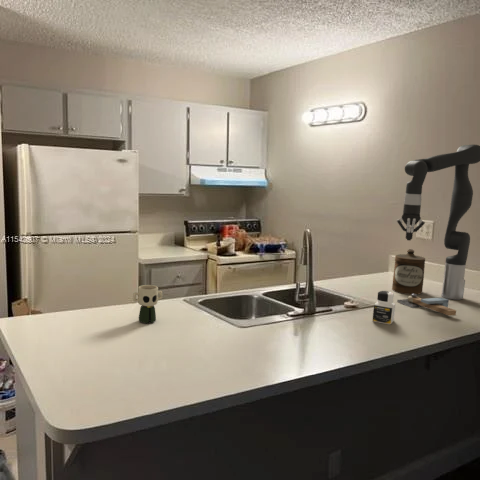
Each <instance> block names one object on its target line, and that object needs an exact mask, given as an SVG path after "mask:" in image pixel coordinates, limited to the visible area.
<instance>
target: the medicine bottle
mask: <svg viewBox="0 0 480 480" xmlns="http://www.w3.org/2000/svg"><path fill="white" fill-rule="evenodd" d="M395 309H396V303H395V302H394V293H393V292H391V291H388V290H380V291H378V292H377V300H376V302H375V303H374V304H373V313H372V322H374V323H380V324H385V325H391V324H392V323H393V322H394V320H395V311H396V310H395Z"/></svg>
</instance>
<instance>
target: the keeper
mask: <svg viewBox="0 0 480 480" xmlns="http://www.w3.org/2000/svg"><path fill="white" fill-rule="evenodd" d="M449 300H450V299H448V298H444V297H428V298H421V302H423V303H426V304H435V303H436V304H439V305H442V306H445V307H448V308H449Z"/></svg>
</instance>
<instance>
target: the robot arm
mask: <svg viewBox="0 0 480 480" xmlns="http://www.w3.org/2000/svg"><path fill="white" fill-rule="evenodd" d="M478 163H480V145H479V144H473V143H472V144H465V145H461V146H459V147H458V148H457V150H456V152H455V151H454V152H447V153H442V154H436V155H432V156H430V157H425V158H420V159H414V160H410V161H408V162H407V163H406V164H405V166H404V172H405V174H407V176H411V177H412V178H411V180H410V181H407V182H406V186H405V194H404V199H403V210H402V216H401V217H400V218H398V219H396V222H397V224H398V225H399V227H400V228H401V230H402V231H403V232H405V240H406V241H409V242H410V241H411V240H412V239H413V235H414V233H415V232H416V233H417V232H418V231H420V229H421V228H422V227H423V226H424V225H425V223H426V222H425V221H424V220H422V219H421V218H422V217H421V208H422V207H421V206H422V193H423V185H424V182H425V180H426V177H427V174H428V173H434V172H437V171H441V170H444V169H447V168H452V167H454V179H453V188H452V193H451V200H450V209H449V217H448V219H447V220H448V221H447V224H446V229H445V234H444V239H443V241H444V244H443V245H444V247H445V249H447V250H448V249H450V250H454V251H457V253H456V254H455V255H454V254H453V255H450V256H446V258H445V264H444V273H443V282H442V290H441V298H445V299H448V300H456V301H457V300H459V301H460V300H462V299H464V294H465V285H466V279H465V276H466V275H465V274H466V267H467V266H466V265H467V261H468V257H469V256H468V254H469V249H470V244H471V236H470V235H471V234H469V232H466V231H457V227H458V224H459V222H460V220H461V219H462V218H463V217H464V216H465V214H467V212H469V210H470V208H471V206H472V203H473V196H474V190H473V186H472V183H471V180H470V178H469V166H470V165H474V164H478ZM403 223H404V224H405V226H404V225H403ZM417 224H418V225H417ZM416 225H417V226H416Z"/></svg>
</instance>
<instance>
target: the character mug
mask: <svg viewBox="0 0 480 480" xmlns="http://www.w3.org/2000/svg"><path fill="white" fill-rule="evenodd" d="M137 290H138V291H137V292H134V293H133V294H132V295H133V296H132V297H133V298H132V301H133V302H134V303H135V302H137V304H138V305H140V307H139V314H138V321H139V322H140V323H143V324H144V323H145V324H147V323H154V322H156V321H157V317H156V315H157V314H156V307H155V306H156V305H157V304H158V302H159V300H162V299H163V291H162V290H159V287H158V286H157V285H153V284H144V285H143V284H141V285H139V286H138V287H137Z"/></svg>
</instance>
